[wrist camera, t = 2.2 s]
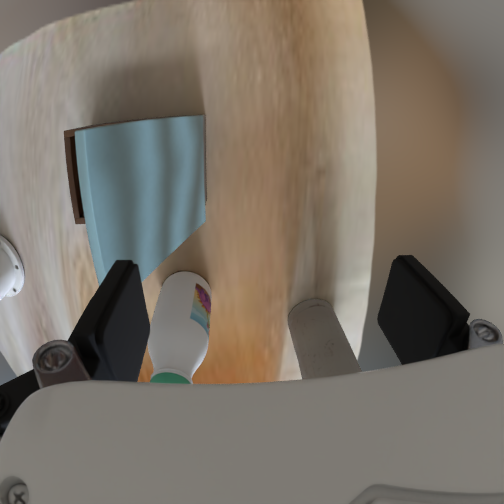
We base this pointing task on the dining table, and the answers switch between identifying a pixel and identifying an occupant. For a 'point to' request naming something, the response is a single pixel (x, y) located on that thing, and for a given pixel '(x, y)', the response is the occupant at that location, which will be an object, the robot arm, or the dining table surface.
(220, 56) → the dining table surface
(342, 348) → the thermos bottle
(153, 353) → the milk bottle
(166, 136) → the light blue flat slab
